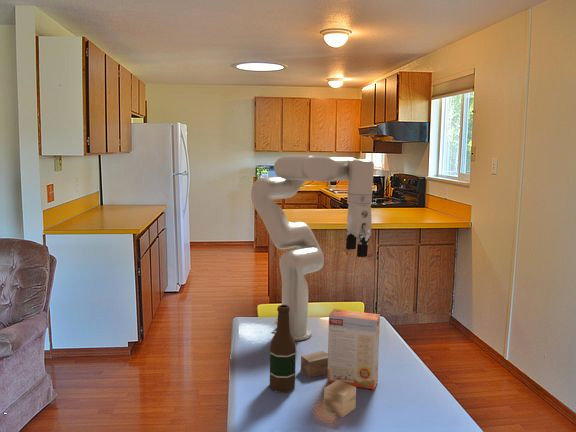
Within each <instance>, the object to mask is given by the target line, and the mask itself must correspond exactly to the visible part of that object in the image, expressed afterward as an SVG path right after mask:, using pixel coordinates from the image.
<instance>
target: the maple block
mask: <svg viewBox="0 0 576 432" xmlns="http://www.w3.org/2000/svg"><path fill="white" fill-rule="evenodd" d="M323 390H324V391H323V410H325V411H327V412H330V413H332V414H334V415H337V416H338V417H341V418H344V417H346V415H348V414H349V413H351V412H352V411H354V410H355V409H356V407H357V402H356V401H357V387H355V386H352V385H349V384H347V383H344V382H342V381H339V380H337V381H335V382H333V383H330V384H328V385H327V386H324V388H323Z"/></svg>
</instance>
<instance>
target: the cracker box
mask: <svg viewBox="0 0 576 432" xmlns="http://www.w3.org/2000/svg"><path fill="white" fill-rule="evenodd" d="M380 318H381V315H380V314H379V313H371V312H370V313H369V312H362V311H353V310H345V309H337V308H334V309H333V310H332V311H331V312H330V313H329V314H328V335H327V336H328V338H327V340H328V342H327V343H328V346H327V354H328V373H327V383H330V384H332V383H333V382H335V381H337V380H339V381H342V382H344V383H347V384H349V385H352V386H354V387H356V388H361V389H367V390H371V391H372V390H373V391H374V390H375V389H376V386H377V384H378V381H379V353H380V352H379V351H380V322H381V319H380Z"/></svg>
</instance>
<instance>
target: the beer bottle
mask: <svg viewBox="0 0 576 432" xmlns="http://www.w3.org/2000/svg"><path fill="white" fill-rule="evenodd" d="M276 310H277V318H278V322H277V324H276V325H277V326H276V332H275V333H274V335H273V336H272V339H271V341H270V348H269V388H270V390H272V391H274V392H276V393H289V392H291V391H294V390H295V388H296V357H297V356H296V354H297V353H296V352H297V351H296V350H297V348H296V347H297V345H296V341H295V340H294V337H293V336H292V334H291V333H290V325H289V311H290V307H289V306H287V305H282V304H280V305H278V306H277V309H276Z"/></svg>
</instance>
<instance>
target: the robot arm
mask: <svg viewBox="0 0 576 432" xmlns="http://www.w3.org/2000/svg"><path fill="white" fill-rule="evenodd" d="M273 171H274V173H275V175H276V176H269V177H268V176H266V177H261V178H258V179H257V180H255V182H253V184H252V186H251V191H250V192H251V193H250V196H251V202H252V205H253V207H254V209H255V211H256V212H257V213H258V215H259V217H260V219H261V220H262V222H263V224H264V226H265V228H266V231H267V233H268V235H269V237H270V239H271V241H272V243H273V245H274V246H275V248H276V249H278V250H286V251H285V252H284V253H283V254H281V256H280V257H279V263H278V264H279V269H280V271H279V272H280V275H281V305H287V306H289V307H290V311H289V325H290V333H291V334H292V336H293V337H294V340H295V342H296V341H297V342H298V341H303V340H307V339H309V338H310V337H311V336H312V334H313V333H312V332H313V331H312V329H310V328H309V327H308V325H309V320H308V319H309V285H308V282H307V280H306V278H305V275H307V274H310V273H314V272H315V273H316V272H318V271H320V270H321V269H322V268H323V267H324V264H325V258H324V257H325V256H324V252H323V251H322V249H321V246H320V245H319V242H318V241H317V238H316V235H314V233H313V230H312V229H311V228H310V226H309V225H308V224H307V223H305V222H303V221H289V219H288V217H287V216H286V213H285V212H284V210H283V208H282V207H281V206H280V205H278V204H277V203H276V202H275V201H274V200H284V199H285V200H286V199H291V198H292V197H294V196H295V195H296V194H297V193H298V191H299V190H300V189H301V188H302V187H303V185H305V183H306V182H311V181H312V182H325V183H327V182H328V183H330V182H342V181H344V182H345V181H346V182H347V198H346V199H347V201H346V204H348V207H347V217H346V233H345V234H346V239H345V240H346V242H345V249H346V250H356V257H357V258H367V257H368V251H369V250H368V249H369V248H368V247H369V241H370V237H371V236H372V201H373V189H374V188H373V187H374V186H373V185H374V171H375V163H374V161H373V160H371V159H363V158H355V157H351V156H330V157H329V156H328V157H326V156H325V157H324V156H322V157H315V156H314V155H284V156H281V157H278V158H277V160H275V162H274V164H273ZM357 242H358V243H357ZM288 249H289V250H288ZM277 322H278V317H277V318H276V320H275V321H274V325H277Z"/></svg>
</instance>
